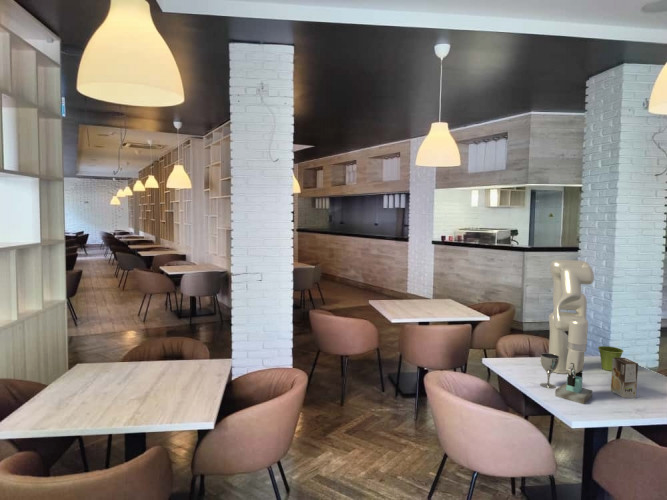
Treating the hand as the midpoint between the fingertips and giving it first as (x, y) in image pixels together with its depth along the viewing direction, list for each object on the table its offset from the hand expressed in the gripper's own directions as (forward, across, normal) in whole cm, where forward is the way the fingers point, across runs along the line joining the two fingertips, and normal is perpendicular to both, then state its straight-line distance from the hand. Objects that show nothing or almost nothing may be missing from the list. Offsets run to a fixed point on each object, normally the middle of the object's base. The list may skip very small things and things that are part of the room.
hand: (574, 383), depth 206 cm
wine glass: (+6, -5, -13) cm, 15 cm away
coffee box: (+6, -21, +15) cm, 27 cm away
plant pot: (+6, -56, +1) cm, 56 cm away
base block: (+6, 0, 0) cm, 6 cm away
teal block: (+3, 0, 0) cm, 3 cm away
